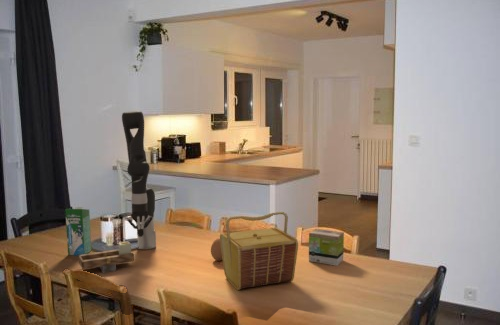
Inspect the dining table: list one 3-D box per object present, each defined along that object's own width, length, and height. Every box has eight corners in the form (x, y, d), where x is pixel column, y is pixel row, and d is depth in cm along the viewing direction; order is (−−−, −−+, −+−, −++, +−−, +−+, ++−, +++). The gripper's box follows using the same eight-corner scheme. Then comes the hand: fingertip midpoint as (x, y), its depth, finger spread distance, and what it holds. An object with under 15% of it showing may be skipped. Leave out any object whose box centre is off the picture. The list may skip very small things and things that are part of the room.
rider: (129, 254, 241) (128, 240, 240) (131, 256, 237) (130, 242, 236) (118, 255, 239) (118, 241, 238) (121, 258, 234) (120, 244, 233)
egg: (207, 261, 241) (207, 239, 239) (216, 257, 248) (216, 235, 247) (222, 264, 237) (221, 241, 236) (230, 259, 244) (230, 237, 243)
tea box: (308, 262, 239) (308, 232, 237) (315, 256, 247) (315, 228, 246) (337, 266, 232) (338, 236, 230) (343, 260, 240) (344, 231, 239)
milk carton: (91, 250, 263) (89, 205, 260) (84, 255, 254) (81, 208, 251) (75, 250, 264) (73, 205, 261) (67, 255, 255) (65, 208, 252)
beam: (128, 259, 246) (127, 247, 245) (135, 267, 233) (134, 254, 232) (78, 267, 235) (78, 254, 234) (83, 276, 222) (82, 262, 222)
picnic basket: (276, 267, 231) (275, 205, 228) (301, 285, 208) (300, 217, 204) (218, 275, 221) (216, 211, 217) (237, 296, 197) (235, 224, 194)
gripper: (150, 199, 245) (151, 233, 246) (124, 201, 239) (125, 236, 241) (154, 202, 238) (155, 236, 240) (127, 204, 232) (128, 239, 234)
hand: (140, 236), depth 240 cm, fingers closed
